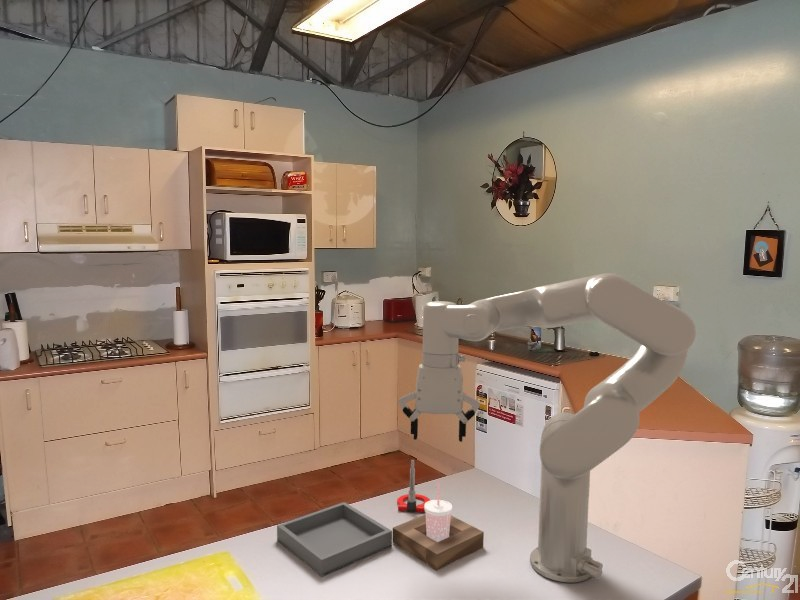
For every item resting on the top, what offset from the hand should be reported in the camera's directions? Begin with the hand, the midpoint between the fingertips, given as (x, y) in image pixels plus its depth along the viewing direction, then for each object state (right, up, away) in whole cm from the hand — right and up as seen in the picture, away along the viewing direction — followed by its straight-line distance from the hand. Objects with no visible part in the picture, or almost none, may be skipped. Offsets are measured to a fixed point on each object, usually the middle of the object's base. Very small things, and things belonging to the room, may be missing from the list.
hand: (437, 438), depth 124 cm
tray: (-23, -24, +3) cm, 33 cm away
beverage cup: (0, -24, +2) cm, 24 cm away
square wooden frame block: (0, -24, +2) cm, 24 cm away
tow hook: (-5, -22, +22) cm, 31 cm away
